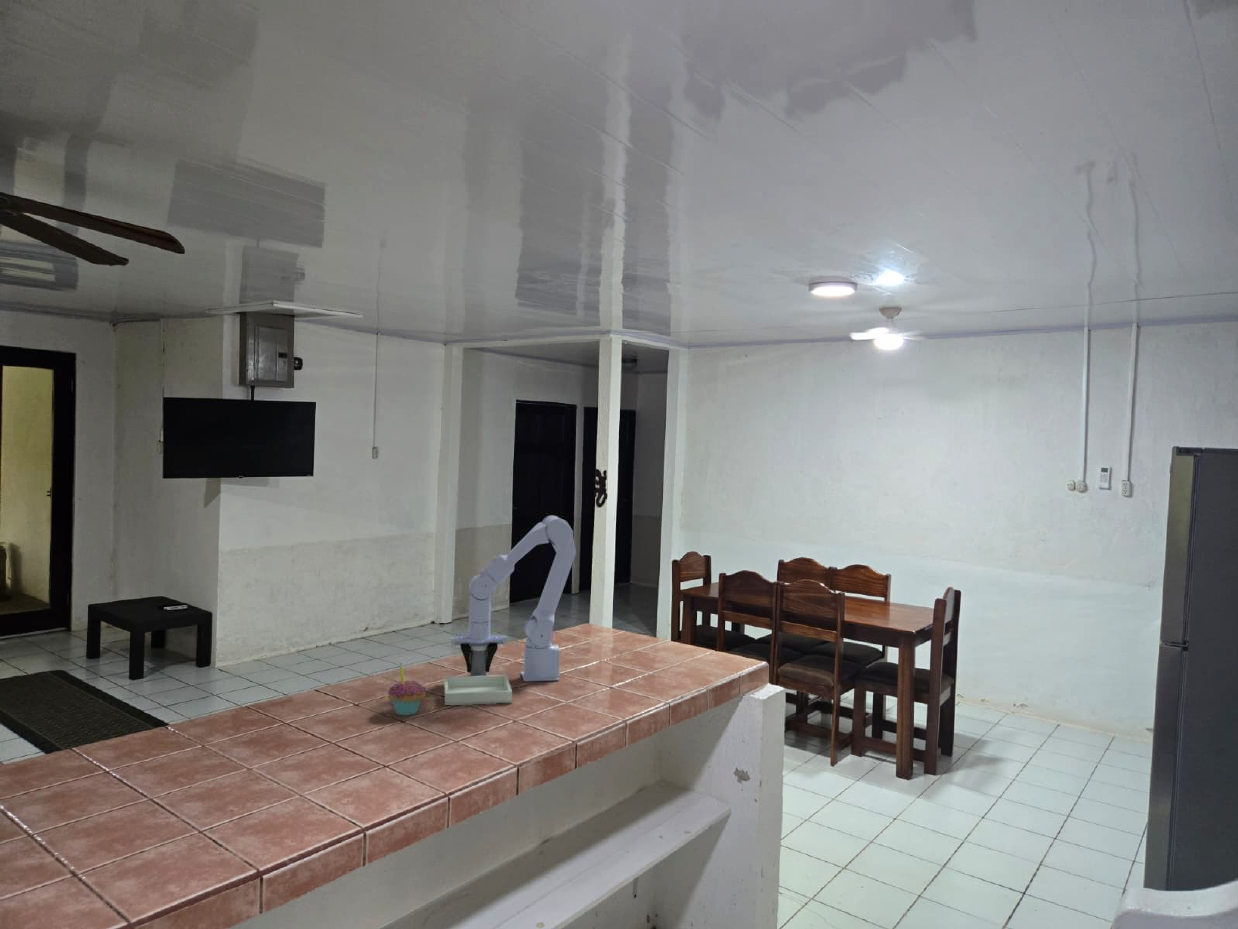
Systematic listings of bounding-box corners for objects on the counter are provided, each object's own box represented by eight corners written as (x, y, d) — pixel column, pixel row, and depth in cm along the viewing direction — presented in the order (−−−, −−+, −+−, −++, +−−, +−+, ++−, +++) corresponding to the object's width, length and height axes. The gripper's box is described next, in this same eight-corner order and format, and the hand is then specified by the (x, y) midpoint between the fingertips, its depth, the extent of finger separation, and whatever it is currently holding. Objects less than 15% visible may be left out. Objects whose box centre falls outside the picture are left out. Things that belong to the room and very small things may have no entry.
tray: (506, 686, 215) (506, 674, 215) (511, 703, 201) (512, 691, 201) (443, 688, 211) (444, 676, 211) (445, 706, 198) (445, 693, 198)
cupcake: (402, 720, 187) (404, 668, 186) (379, 712, 192) (381, 661, 191) (432, 711, 193) (434, 661, 193) (409, 703, 199) (410, 654, 198)
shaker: (485, 677, 222) (487, 642, 222) (487, 682, 217) (488, 646, 217) (468, 678, 221) (469, 642, 221) (469, 683, 216) (470, 646, 216)
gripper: (452, 624, 213) (450, 676, 214) (508, 623, 216) (506, 674, 217) (451, 618, 220) (450, 668, 220) (505, 617, 223) (504, 667, 224)
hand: (478, 671), depth 219 cm, fingers closed on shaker, 4 cm apart
